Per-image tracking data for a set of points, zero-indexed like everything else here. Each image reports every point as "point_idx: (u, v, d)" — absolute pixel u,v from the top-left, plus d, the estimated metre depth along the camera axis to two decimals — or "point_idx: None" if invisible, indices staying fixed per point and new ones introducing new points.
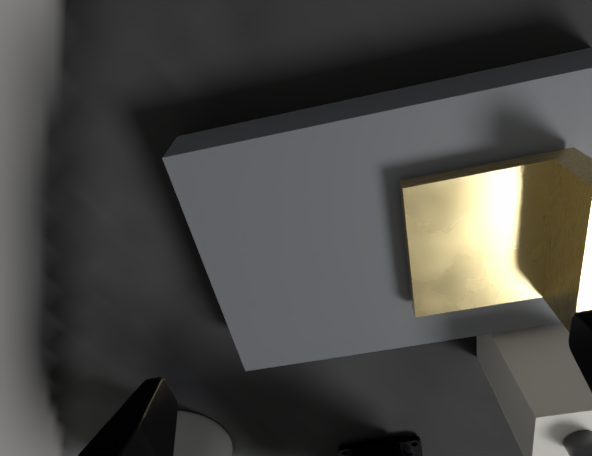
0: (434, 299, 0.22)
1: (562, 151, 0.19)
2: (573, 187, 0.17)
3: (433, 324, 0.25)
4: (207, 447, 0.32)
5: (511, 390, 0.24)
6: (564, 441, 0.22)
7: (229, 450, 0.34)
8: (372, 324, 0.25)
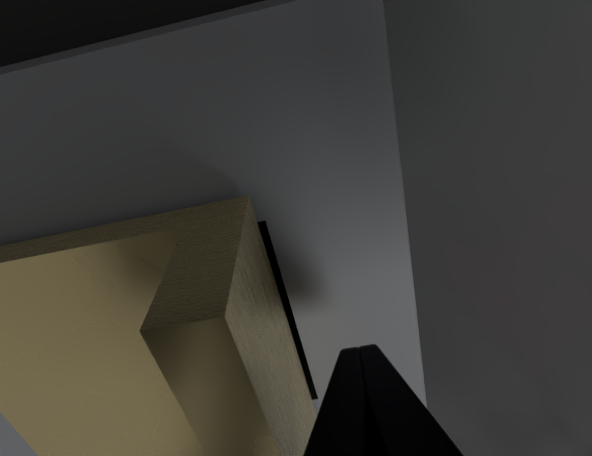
0: None
1: (219, 205, 0.09)
2: None
3: None
4: None
5: None
6: None
7: None
8: None
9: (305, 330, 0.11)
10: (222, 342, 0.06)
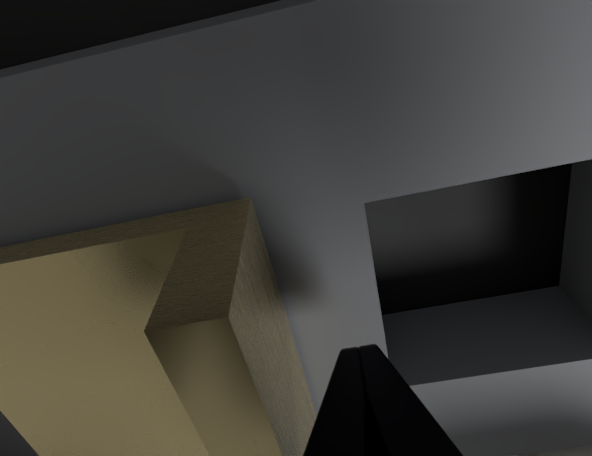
0: None
1: (222, 207, 0.09)
2: None
3: None
4: None
5: None
6: None
7: None
8: None
9: None
10: (225, 343, 0.06)
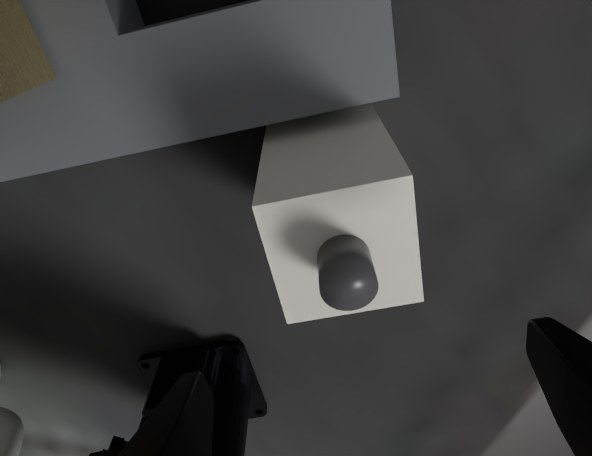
0: None
1: None
2: None
3: (156, 109, 0.16)
4: None
5: None
6: (319, 262, 0.13)
7: None
8: (61, 109, 0.16)
9: None
10: None
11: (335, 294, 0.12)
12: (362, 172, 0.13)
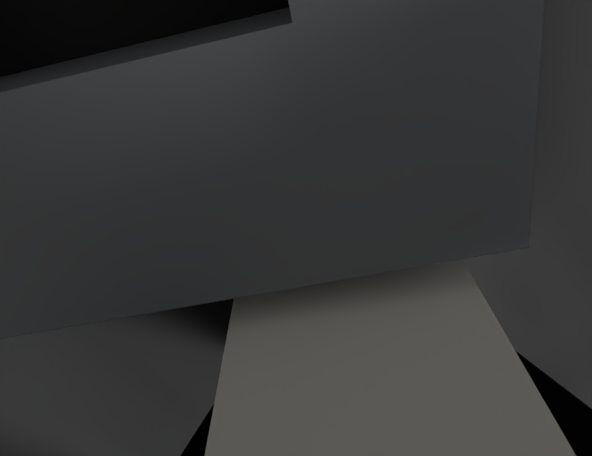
0: None
1: None
2: None
3: None
4: None
5: None
6: None
7: None
8: None
9: None
10: None
11: None
12: None
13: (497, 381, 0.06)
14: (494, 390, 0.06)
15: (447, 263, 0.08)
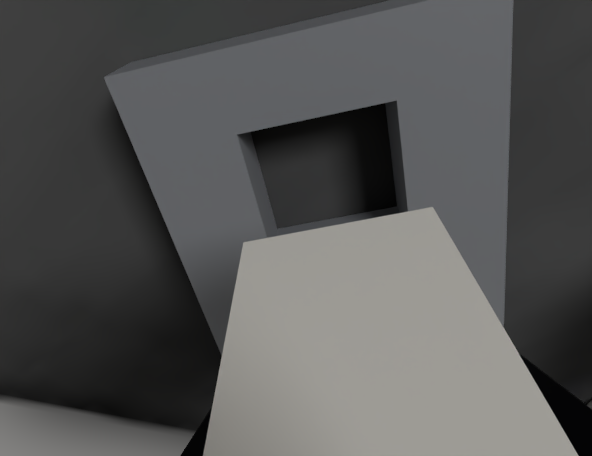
0: None
1: None
2: None
3: (472, 220, 0.18)
4: None
5: None
6: None
7: None
8: None
9: (323, 110, 0.16)
10: None
11: None
12: None
13: (498, 379, 0.06)
14: (495, 388, 0.06)
15: (447, 261, 0.08)
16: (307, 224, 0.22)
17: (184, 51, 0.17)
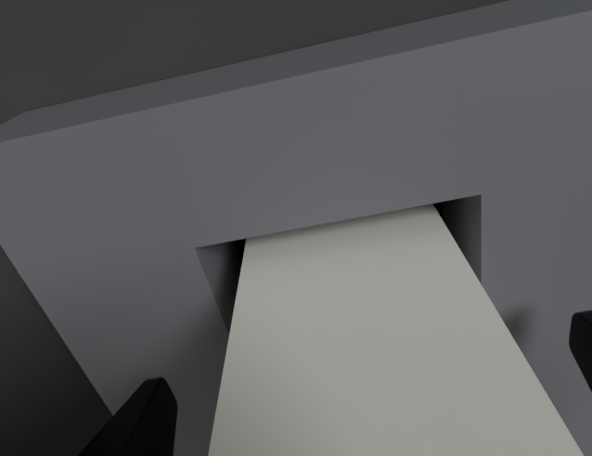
0: None
1: None
2: None
3: None
4: None
5: None
6: None
7: None
8: None
9: (348, 211, 0.09)
10: None
11: None
12: (449, 411, 0.06)
13: (456, 289, 0.08)
14: (453, 294, 0.08)
15: (424, 213, 0.10)
16: None
17: (106, 98, 0.10)
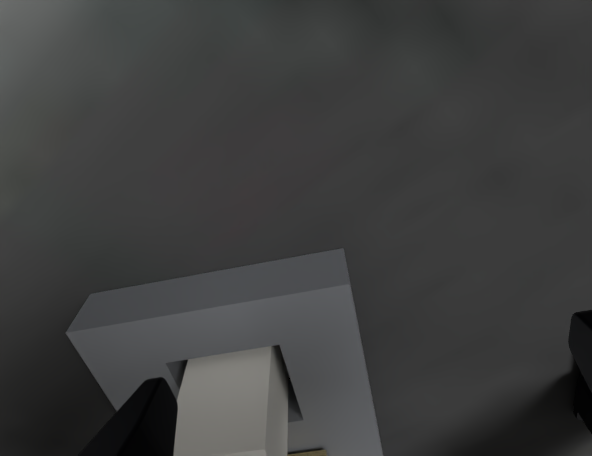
0: None
1: None
2: None
3: (348, 409, 0.24)
4: None
5: None
6: None
7: None
8: (344, 447, 0.26)
9: (226, 350, 0.22)
10: None
11: None
12: (237, 435, 0.19)
13: (259, 387, 0.21)
14: (257, 390, 0.21)
15: None
16: None
17: (127, 296, 0.23)
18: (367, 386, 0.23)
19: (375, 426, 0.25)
